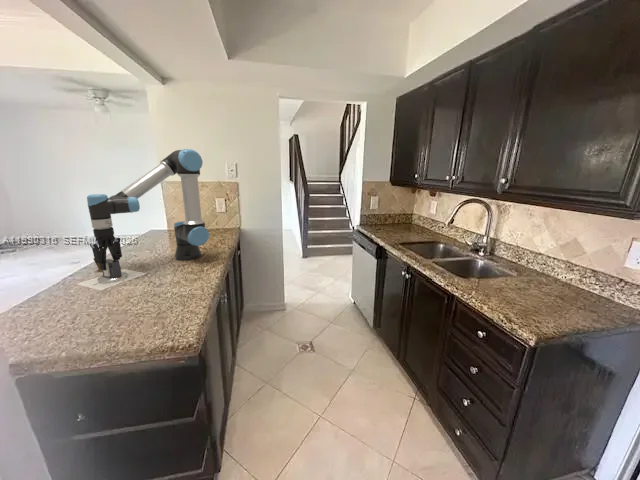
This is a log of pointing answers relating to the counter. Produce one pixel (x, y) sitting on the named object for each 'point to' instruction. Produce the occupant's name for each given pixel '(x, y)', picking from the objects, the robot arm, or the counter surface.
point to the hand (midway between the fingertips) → (112, 274)
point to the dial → (113, 273)
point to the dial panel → (100, 286)
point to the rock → (99, 266)
